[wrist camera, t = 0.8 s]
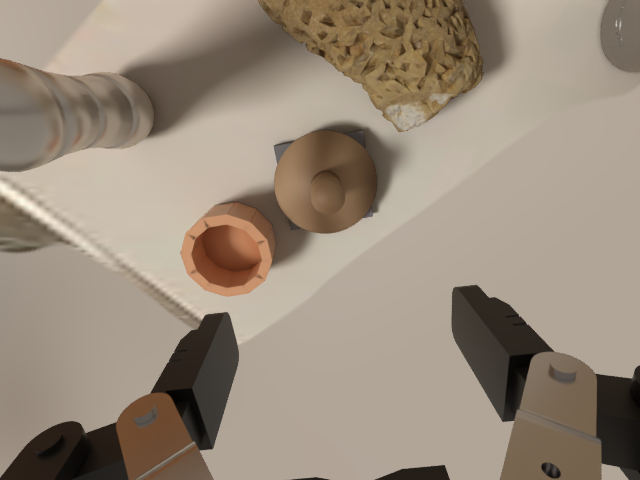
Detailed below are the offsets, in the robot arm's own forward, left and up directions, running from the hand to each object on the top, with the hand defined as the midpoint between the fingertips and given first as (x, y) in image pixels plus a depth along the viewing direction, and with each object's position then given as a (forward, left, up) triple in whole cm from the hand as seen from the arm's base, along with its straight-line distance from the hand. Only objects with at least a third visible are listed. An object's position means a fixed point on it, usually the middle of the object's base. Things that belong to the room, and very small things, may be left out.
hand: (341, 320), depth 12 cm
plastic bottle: (+18, -10, -26) cm, 33 cm away
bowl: (+11, +5, -26) cm, 28 cm away
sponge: (-6, -13, -26) cm, 30 cm away
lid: (0, 0, -25) cm, 25 cm away
